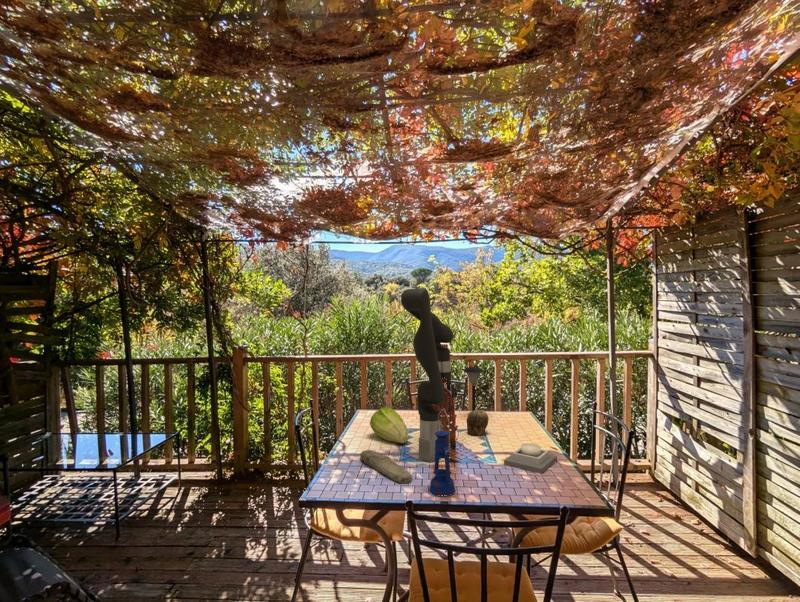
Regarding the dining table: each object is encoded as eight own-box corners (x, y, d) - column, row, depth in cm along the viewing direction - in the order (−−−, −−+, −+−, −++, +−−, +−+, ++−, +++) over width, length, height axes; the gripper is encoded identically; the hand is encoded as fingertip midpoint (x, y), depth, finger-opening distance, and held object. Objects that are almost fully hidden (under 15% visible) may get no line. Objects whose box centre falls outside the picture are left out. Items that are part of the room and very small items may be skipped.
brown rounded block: (488, 437, 227) (488, 413, 226) (466, 436, 228) (466, 412, 228) (488, 431, 237) (487, 408, 237) (466, 430, 239) (466, 407, 239)
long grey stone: (396, 491, 170) (418, 486, 175) (397, 477, 170) (419, 472, 175) (353, 457, 199) (373, 454, 204) (354, 445, 199) (374, 443, 204)
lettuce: (416, 451, 222) (387, 461, 214) (392, 422, 241) (365, 430, 234) (418, 426, 216) (388, 435, 209) (394, 399, 235) (366, 406, 228)
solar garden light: (481, 417, 263) (481, 365, 263) (487, 423, 251) (487, 369, 250) (460, 418, 262) (460, 366, 262) (465, 424, 250) (465, 369, 250)
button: (536, 458, 187) (536, 451, 187) (518, 454, 192) (518, 447, 192) (543, 452, 193) (543, 445, 193) (525, 449, 198) (525, 442, 198)
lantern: (424, 487, 169) (424, 406, 168) (447, 483, 172) (446, 404, 172) (436, 499, 159) (436, 413, 159) (460, 494, 162) (460, 411, 162)
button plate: (541, 473, 181) (541, 462, 181) (504, 464, 191) (504, 454, 190) (557, 460, 195) (556, 450, 195) (521, 452, 205) (521, 442, 205)
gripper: (426, 369, 216) (428, 403, 217) (449, 373, 206) (450, 408, 207) (437, 366, 221) (438, 399, 222) (459, 370, 211) (461, 405, 212)
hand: (444, 404), depth 214 cm, fingers open, 8 cm apart
